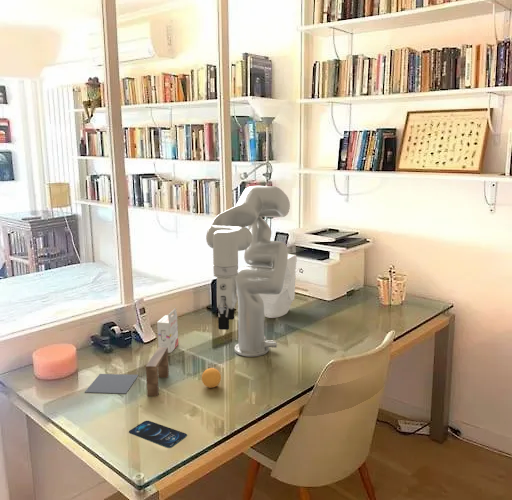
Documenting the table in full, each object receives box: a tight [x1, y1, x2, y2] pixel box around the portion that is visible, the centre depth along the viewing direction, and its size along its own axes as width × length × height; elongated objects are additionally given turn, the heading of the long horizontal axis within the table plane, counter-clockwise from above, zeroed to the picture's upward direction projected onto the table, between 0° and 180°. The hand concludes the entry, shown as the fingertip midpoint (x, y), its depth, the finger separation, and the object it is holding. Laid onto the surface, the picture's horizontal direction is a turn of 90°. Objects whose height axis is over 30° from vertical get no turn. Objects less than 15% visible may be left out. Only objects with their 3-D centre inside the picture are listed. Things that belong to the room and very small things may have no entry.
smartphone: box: [128, 420, 188, 449], centre depth 144 cm, size 8×1×15 cm
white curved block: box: [249, 253, 297, 319], centre depth 242 cm, size 21×27×26 cm
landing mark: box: [84, 373, 139, 395], centre depth 172 cm, size 13×13×1 cm
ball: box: [201, 367, 222, 389], centre depth 169 cm, size 6×6×6 cm
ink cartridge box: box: [156, 307, 179, 354], centre depth 199 cm, size 9×5×15 cm, turn 168°
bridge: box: [145, 346, 170, 397], centre depth 170 cm, size 3×15×10 cm, turn 176°
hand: (226, 324), depth 168 cm, fingers open, 9 cm apart
